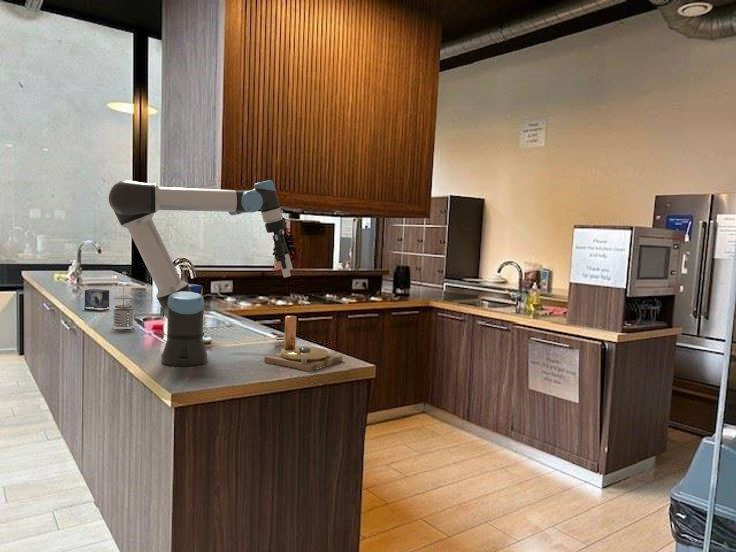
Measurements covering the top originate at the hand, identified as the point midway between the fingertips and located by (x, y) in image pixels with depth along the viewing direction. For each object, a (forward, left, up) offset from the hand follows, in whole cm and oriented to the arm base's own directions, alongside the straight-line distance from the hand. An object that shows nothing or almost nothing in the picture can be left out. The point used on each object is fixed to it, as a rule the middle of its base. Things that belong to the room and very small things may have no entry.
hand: (288, 273), depth 216 cm
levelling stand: (-13, -19, -30) cm, 38 cm away
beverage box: (-10, +44, -30) cm, 55 cm away
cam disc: (-13, -19, -28) cm, 36 cm away
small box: (+9, +131, -30) cm, 135 cm away
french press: (-15, +77, -30) cm, 84 cm away
